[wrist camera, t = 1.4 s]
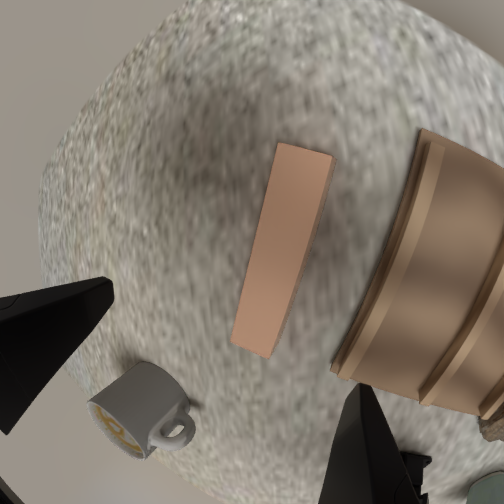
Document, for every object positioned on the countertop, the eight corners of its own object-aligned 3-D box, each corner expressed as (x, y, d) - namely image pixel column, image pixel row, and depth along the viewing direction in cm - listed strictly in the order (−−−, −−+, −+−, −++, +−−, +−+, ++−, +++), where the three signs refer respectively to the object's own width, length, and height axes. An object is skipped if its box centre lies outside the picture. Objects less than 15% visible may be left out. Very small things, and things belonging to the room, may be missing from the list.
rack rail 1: (350, 368, 21) (348, 380, 19) (339, 364, 21) (336, 376, 20) (439, 149, 14) (445, 147, 13) (425, 144, 14) (431, 141, 13)
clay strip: (280, 340, 24) (268, 359, 22) (244, 325, 25) (229, 341, 23) (337, 159, 19) (332, 156, 16) (290, 146, 20) (278, 142, 17)
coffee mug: (138, 395, 37) (97, 431, 28) (130, 350, 34) (78, 386, 25) (211, 436, 33) (173, 484, 24) (214, 395, 29) (165, 452, 21)
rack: (479, 409, 17) (481, 416, 16) (331, 364, 22) (329, 371, 21) (576, 226, 10) (582, 228, 9) (419, 130, 15) (422, 128, 14)
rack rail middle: (427, 394, 18) (428, 406, 17) (418, 391, 18) (419, 403, 17) (524, 196, 12) (534, 198, 10) (516, 190, 12) (526, 192, 11)
